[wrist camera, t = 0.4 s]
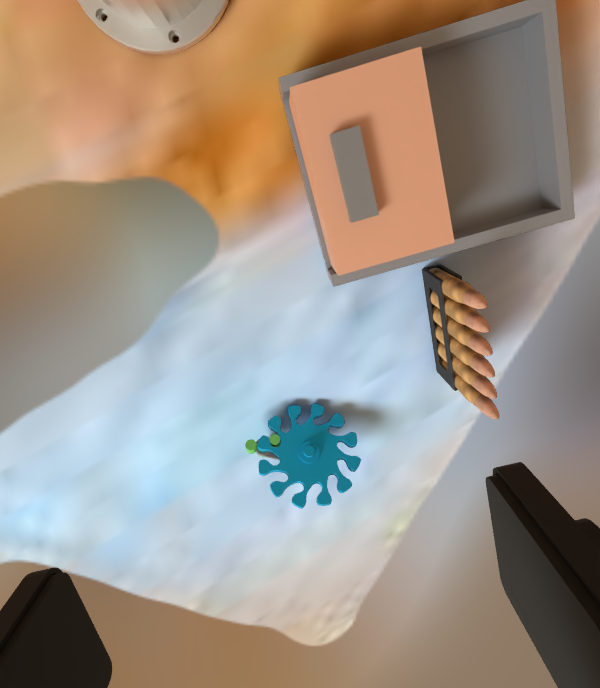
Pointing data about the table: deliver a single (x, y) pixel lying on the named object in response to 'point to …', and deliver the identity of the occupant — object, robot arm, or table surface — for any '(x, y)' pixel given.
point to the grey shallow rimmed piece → (481, 125)
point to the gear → (305, 454)
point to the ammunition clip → (460, 336)
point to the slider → (373, 161)
